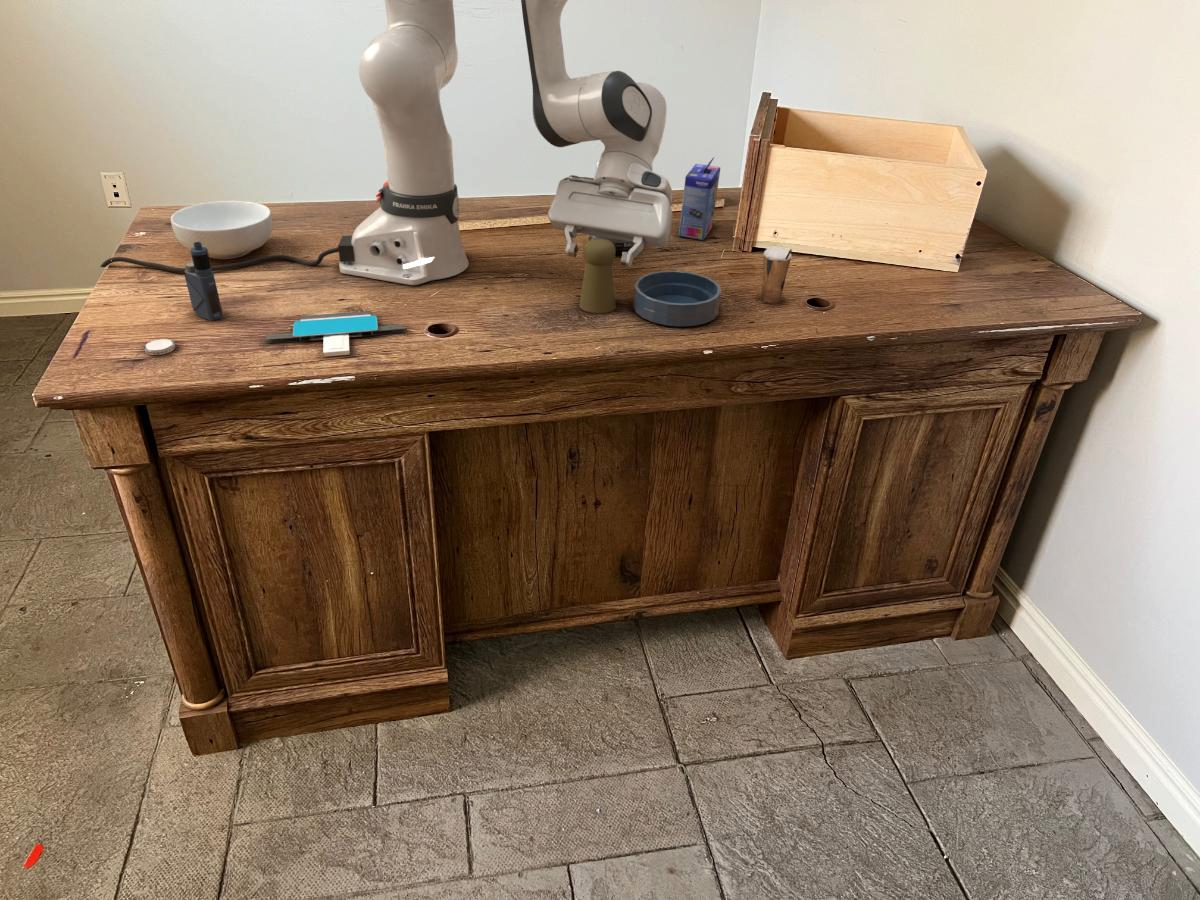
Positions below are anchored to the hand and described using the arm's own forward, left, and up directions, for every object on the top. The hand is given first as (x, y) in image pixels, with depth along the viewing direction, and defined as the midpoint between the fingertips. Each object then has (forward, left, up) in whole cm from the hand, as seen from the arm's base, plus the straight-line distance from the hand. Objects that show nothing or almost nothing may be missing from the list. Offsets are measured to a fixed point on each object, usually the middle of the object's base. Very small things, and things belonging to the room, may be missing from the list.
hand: (597, 260), depth 137 cm
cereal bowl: (-69, +10, -8) cm, 70 cm away
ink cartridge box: (+15, +40, -8) cm, 44 cm away
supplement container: (0, +27, -8) cm, 28 cm away
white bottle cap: (-60, -28, -8) cm, 67 cm away
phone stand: (-37, -20, -8) cm, 42 cm away
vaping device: (-59, -16, -8) cm, 61 cm away
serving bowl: (+13, +1, -8) cm, 15 cm away
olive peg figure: (0, 0, -8) cm, 8 cm away
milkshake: (+29, +8, -8) cm, 31 cm away
